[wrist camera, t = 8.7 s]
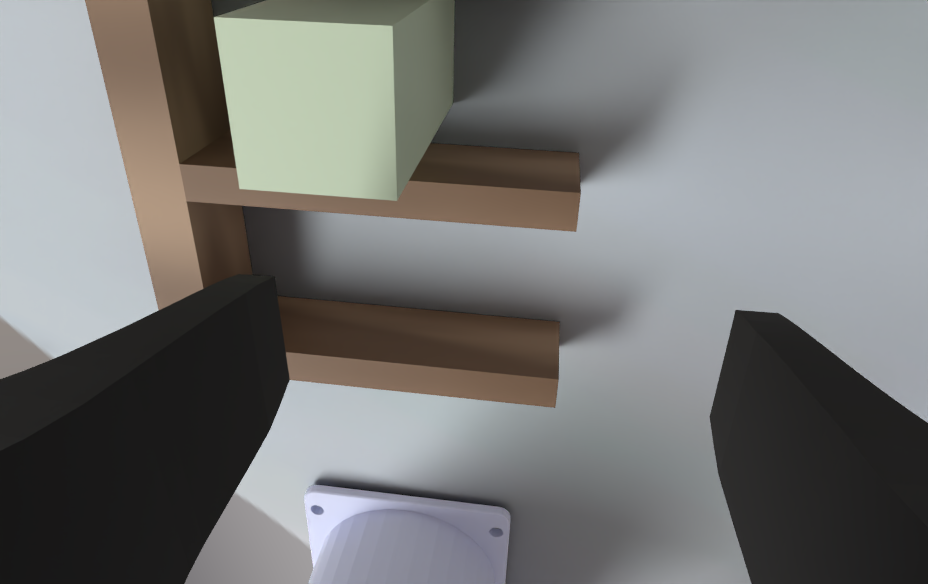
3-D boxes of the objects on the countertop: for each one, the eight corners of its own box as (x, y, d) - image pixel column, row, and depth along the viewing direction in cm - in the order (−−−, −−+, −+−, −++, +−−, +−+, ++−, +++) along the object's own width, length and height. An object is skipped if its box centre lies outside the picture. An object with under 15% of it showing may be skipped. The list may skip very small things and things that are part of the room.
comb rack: (556, 348, 22) (555, 407, 19) (216, 315, 23) (172, 367, 20) (641, -402, 13) (660, -478, 10) (84, -392, 14) (-24, -458, 12)
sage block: (452, 103, 18) (397, 200, 12) (345, 96, 19) (239, 188, 13) (455, -18, 17) (392, 26, 11) (338, -23, 17) (214, 17, 11)
